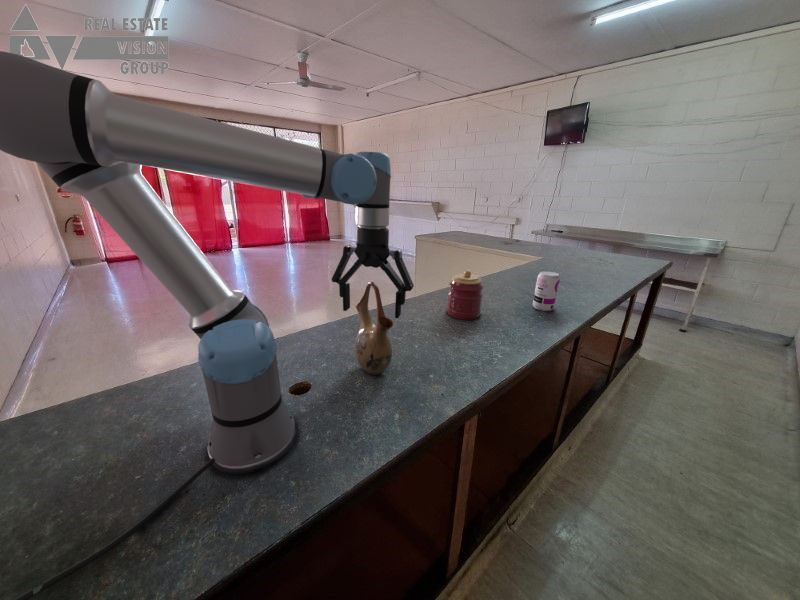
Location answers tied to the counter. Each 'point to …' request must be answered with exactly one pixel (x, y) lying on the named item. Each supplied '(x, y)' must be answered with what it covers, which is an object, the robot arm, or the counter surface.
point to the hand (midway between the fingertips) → (371, 312)
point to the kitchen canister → (465, 296)
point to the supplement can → (546, 290)
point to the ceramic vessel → (373, 336)
